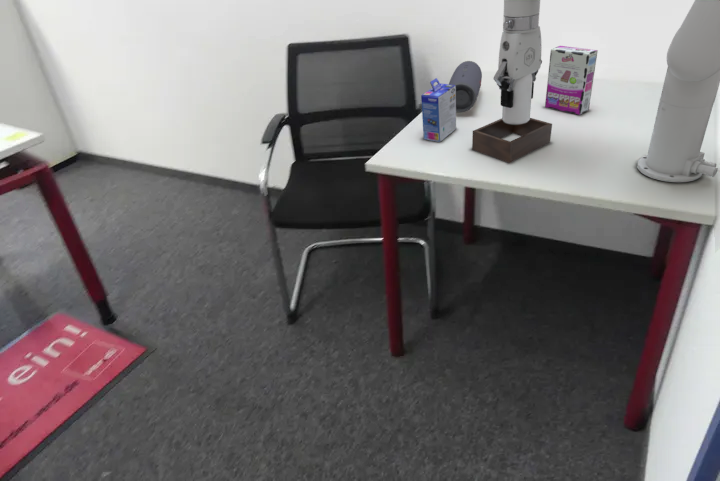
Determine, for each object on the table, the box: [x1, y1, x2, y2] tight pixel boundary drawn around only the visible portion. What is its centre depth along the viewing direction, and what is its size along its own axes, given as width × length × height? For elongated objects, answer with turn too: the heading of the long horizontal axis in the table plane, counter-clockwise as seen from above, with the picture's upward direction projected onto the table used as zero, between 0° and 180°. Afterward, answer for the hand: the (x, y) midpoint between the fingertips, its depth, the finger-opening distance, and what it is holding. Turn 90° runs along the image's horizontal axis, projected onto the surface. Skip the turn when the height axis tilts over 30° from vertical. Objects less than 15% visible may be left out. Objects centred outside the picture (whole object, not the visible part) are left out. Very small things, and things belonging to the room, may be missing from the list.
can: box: [501, 73, 532, 125], centre depth 126 cm, size 6×6×12 cm
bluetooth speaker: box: [448, 60, 483, 113], centre depth 159 cm, size 23×9×10 cm, turn 165°
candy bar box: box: [544, 45, 599, 116], centre depth 147 cm, size 11×5×16 cm, turn 42°
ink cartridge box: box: [420, 78, 457, 143], centre depth 140 cm, size 10×6×14 cm, turn 146°
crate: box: [471, 117, 553, 164], centre depth 132 cm, size 12×16×5 cm
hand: (516, 101), depth 127 cm, fingers closed on can, 6 cm apart
